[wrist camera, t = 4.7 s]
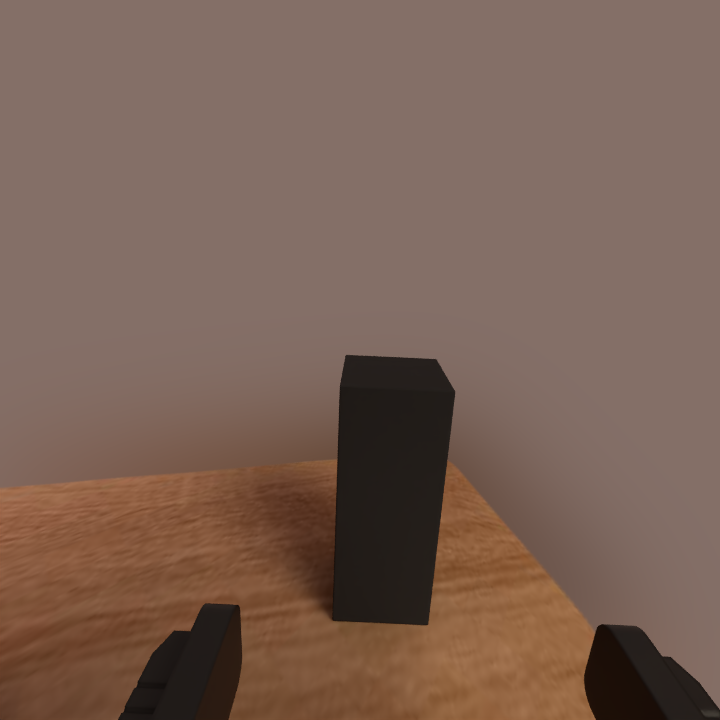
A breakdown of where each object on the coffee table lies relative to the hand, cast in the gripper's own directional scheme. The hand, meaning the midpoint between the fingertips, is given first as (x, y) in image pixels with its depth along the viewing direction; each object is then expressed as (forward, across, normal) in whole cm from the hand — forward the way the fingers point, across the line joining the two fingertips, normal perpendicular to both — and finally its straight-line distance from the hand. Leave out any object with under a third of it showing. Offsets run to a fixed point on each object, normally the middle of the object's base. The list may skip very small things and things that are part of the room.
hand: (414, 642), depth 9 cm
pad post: (+10, 0, +9) cm, 14 cm away
